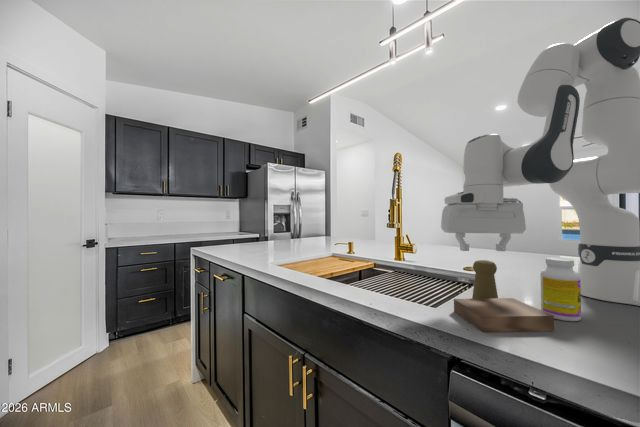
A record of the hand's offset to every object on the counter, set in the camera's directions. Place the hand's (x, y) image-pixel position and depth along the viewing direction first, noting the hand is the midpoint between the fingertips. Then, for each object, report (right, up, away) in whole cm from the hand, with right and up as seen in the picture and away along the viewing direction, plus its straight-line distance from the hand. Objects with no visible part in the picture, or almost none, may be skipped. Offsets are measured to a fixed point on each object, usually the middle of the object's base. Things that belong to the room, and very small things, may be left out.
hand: (482, 250), depth 68 cm
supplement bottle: (+12, -14, -9) cm, 20 cm away
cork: (+1, -14, 0) cm, 14 cm away
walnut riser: (-3, -14, -11) cm, 18 cm away
